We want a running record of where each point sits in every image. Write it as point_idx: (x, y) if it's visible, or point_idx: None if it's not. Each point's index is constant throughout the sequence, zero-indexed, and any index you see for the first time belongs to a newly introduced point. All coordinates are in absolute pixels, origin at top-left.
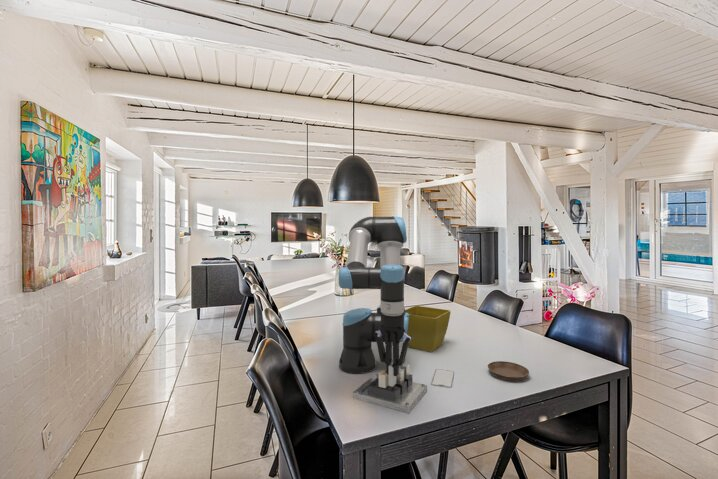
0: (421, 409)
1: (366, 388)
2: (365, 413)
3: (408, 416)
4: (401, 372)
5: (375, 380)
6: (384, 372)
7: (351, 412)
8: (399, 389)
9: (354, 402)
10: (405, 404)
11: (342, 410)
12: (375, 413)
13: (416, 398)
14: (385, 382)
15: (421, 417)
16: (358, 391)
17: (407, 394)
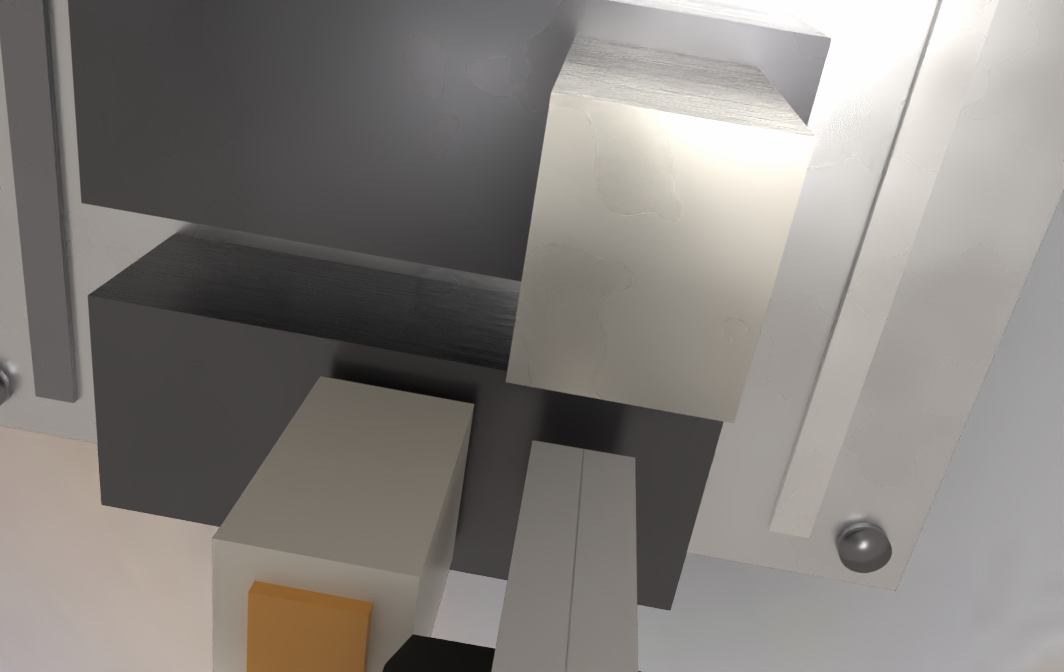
0: (1059, 391)
1: (54, 247)
2: None
3: (870, 591)
4: (752, 331)
5: (103, 195)
6: (304, 634)
7: (187, 663)
8: (714, 437)
9: (89, 466)
10: (834, 541)
11: (75, 651)
12: (450, 623)
13: (1013, 293)
14: (432, 628)
15: (1050, 574)
16: (5, 391)
17: (834, 223)
